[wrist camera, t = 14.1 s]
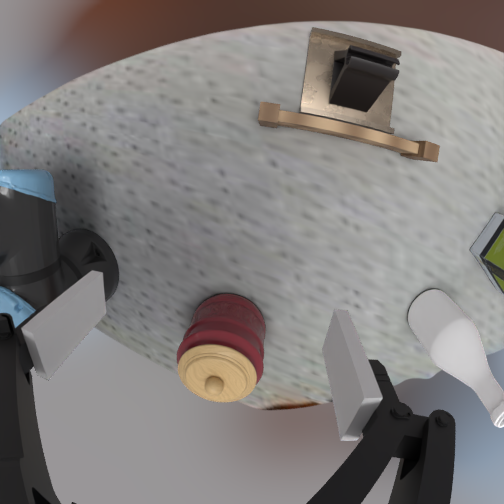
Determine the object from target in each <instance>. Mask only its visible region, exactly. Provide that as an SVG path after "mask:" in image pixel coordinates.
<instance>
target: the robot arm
mask: <svg viewBox="0 0 504 504" xmlns="http://www.w3.org/2000/svg"><path fill="white" fill-rule="evenodd" d="M118 280H119V272H118V266H117V262H116V259H115V257H114V254H113V252H112V251H111V249H110V247H109V246H108V245H107V243H106V242H105V241H104V240H103V239H102V238H101V237H99V236H98V235H97V234H95V233H93V232H91V231H89V230H85V229H76V230H72V231H70V232H68V233H66V234H64V235H63V236H62V237H60V238H59V239H58V232H57V219H56V199H55V195H54V182H53V177H52V175H51V174H50V173H49V172H48V171H46V170H39V169H17V170H0V504H61V503H60V501H59V500H58V498H57V496H56V495H55V492H54V490H53V487H52V484H51V480H50V477H49V473H48V470H47V466H46V462H45V457H44V453H43V449H42V444H41V439H40V434H39V429H38V423H37V417H36V410H35V402H34V395H33V385H32V375H31V372H30V370H31V369H32V367H33V366H34V368H35V371H36V373H37V375H38V376H40V377H42V378H44V379H46V380H49V379H50V378H51V377H52V376H53V375H54V373H55V372H56V371H57V370H58V368H59V367H60V366H61V365H62V364H63V362H64V361H65V360H66V359H67V358H68V357H69V355H70V354H71V353H72V352H73V351H74V349H75V348H76V347H77V346H78V345H79V344H80V342H81V341H82V340H83V339H84V338H85V336H87V335H88V333H89V332H90V331H91V330H92V329H93V328H94V327H95V325H96V324H97V323H98V322H99V321H100V320H101V319H102V318H103V317H104V315H105V314H106V313H107V312H106V304H105V302H106V301H107V300H108V299H109V298H110V297H111V296H112V295H113V294H114V292H115V290H116V288H117V285H118ZM322 351H323V355H324V360H325V365H326V369H327V374H328V379H329V384H330V389H331V394H332V399H333V403H334V408H335V414H336V419H337V424H338V430H339V435H340V440H341V441H346V440H358V438H359V437H360V435H361V433H363V439H362V440H361V441H360V443H359V444H358V445H357V447H356V448H355V449H354V451H353V452H352V453H351V454H350V455H349V457H348V458H347V459H346V461H345V462H344V463H343V464H342V465H341V466H340V468H339V469H338V470H337V471H336V472H335V473H334V475H333V476H332V477H331V478H330V479H329V480H328V481H327V482H326V484H325V485H324V486H323V487H322V488H321V489H320V490H319V491H318V492H317V493H316V494H315V495H314V496H313V497H312V498H311V499H310V501H308V502H307V504H361V502H362V501H363V500H364V498H365V497H366V495H367V494H368V493H369V492H370V490H371V489H372V487H373V486H374V484H375V483H376V481H377V480H378V478H379V477H380V475H381V474H382V472H383V471H384V469H385V468H386V466H387V464H388V463H389V461H390V459H391V457H397V458H400V463H399V467H398V471H397V475H396V479H395V482H394V486H393V489H392V493H391V496H390V500H389V503H388V504H450V499H451V492H452V483H453V472H454V458H455V420H454V418H453V416H452V415H451V414H449V413H448V412H446V411H444V410H435V411H433V412H432V413H431V414H430V416H429V417H425V416H419V415H415V414H413V412H412V410H411V409H410V408H409V406H407V405H406V404H404V403H401V402H399V399H398V397H397V395H396V392H395V390H394V388H393V385H392V383H391V382H390V378H389V376H388V374H387V371H386V369H385V367H384V366H383V365H382V364H381V363H380V362H379V361H378V360H368V358H367V356H366V353H365V351H364V348H363V346H362V343H361V341H360V338H359V336H358V334H357V331H356V329H355V326H354V324H353V322H352V319H351V317H350V315H349V312H348V310H339V309H334V312H333V316H332V319H331V323H330V326H329V329H328V333H327V336H326V339H325V342H324V345H323V348H322ZM72 504H76V503H73V502H72Z"/></svg>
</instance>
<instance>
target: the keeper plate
mask: <svg viewBox="0 0 504 504" xmlns="http://www.w3.org/2000/svg"><path fill="white" fill-rule="evenodd" d="M350 45H352V46H356V47H360V48H363V49H367V50H370V51H374V52H377V53H380V54H383V55H386V56H389V57H392V58H395V59H397V58H399V57H400V56H401V51H398V50H395V49H393V48H390V47H387V46H384V45H381V44H377V43H374V42H371V41H368V40H364V39H361V38H357V37H353V36H349V35H346V34H342V33H337V32H333V31H329V30H324V29H319V28H314V27H312V30H311V33H310V40H309V47H308V55H307V63H306V70H305V77H304V85H303V92H302V99H301V106H300V114H305V115H311V116H316V117H321V118H326V119H330V120H335V121H339V122H344V123H348V124H352V125H356V126H360V127H364V128H368V129H372V130H375V131H379V132H383V133H386V134H394V128H390V127H389V126H390V118H391V110H392V101H393V91H394V81H391V82H390V83H389V84H388V85H387V87H386V88H385V89H384V91H383V92H382V93H381V95H380V96H379V97H378V99H377V100H376V101H375V103H374V104H373V105H372V106H371V108H370V109H369V110H368V112H364V111H360V110H356V109H352V108H347V107H343V106H339V105H334V104H330V103H329V96H330V88H331V80H332V71H333V62H334V53H335V51H341V50H347V49H348V48H349V46H350ZM395 66H396V64H393V66H392V68H393V69H395Z"/></svg>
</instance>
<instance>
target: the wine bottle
mask: <svg viewBox="0 0 504 504" xmlns="http://www.w3.org/2000/svg"><path fill="white" fill-rule="evenodd" d="M408 322H409V326H410V328H411V329H412V331H413V332H414V334H415V335H416V337H417V338H418V340H419V341H420V343H421V344H422V346H423V347H424V349H425V351H426V352H427V354H428V355H429V357H430V358H431V360H432V362H433V363H434V364H435V365H437V366H438V367H439V368H441V369H442V370H444V371H445V372H447V373H449V374H451V375H452V376H454V377H455V378H457V379H459V380H460V381H462V382H463V383H465V384H466V385H468V386H470V387H471V388H472V389H473V390H474V391H475V392H476V394H477V395H478V397H479V398H480V400H481V401H482V403H483V404H484V406H485V407H486V409H487V410H488V412H489V413H490V415H491V416H490V417H491V420H492V422H493V423H494V425H495V426H497V427H499V428H500V427H503V426H504V391H503V390H502V388H501V387H500V385H499V384H498V383H497V381H496V380H495V378H494V377H493V375H492V373H491V371H490V369H489V366H488V362H487V358H486V355H485V351H484V348H483V345H482V341H481V338H480V335H479V332H478V329H477V327H476V325H475V323H474V322H473V321H472V320H471V319H470V317H469V316H468V315H467V314H466V313H465V312H464V311H463V310H462V309H461V308H460V307H459V306H458V305H457V304H456V303H455V302H454V301H453V300H452V299H451V298H450V297H449V296H448V295H447V294H446V293H444V292H443V291H440V290H437V289H432V290H428V291H426V292H424V293H422V294H421V295H419V296H418V297H417V298H416V299H415V300H414V302H413V303H412V305H411V307H410V309H409V313H408Z"/></svg>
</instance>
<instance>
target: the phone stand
mask: <svg viewBox="0 0 504 504" xmlns="http://www.w3.org/2000/svg"><path fill="white" fill-rule="evenodd" d="M393 64H397V65H399V64H400V63H399V60H398V59H395V58H392V57H389V56H386V55H383V54H380V53H377V52H374V51H370V50H367V49H363V48H360V47H356V46H352V45H350V46H349V48H348V49H347V50H341V51H335V53H334V62H333V71H332V80H331V88H330V96H329V103H330V104H334V105H339V106H343V107H347V108H352V109H356V110H360V111H364V112H368V110H369V109H370V108H371V106H372V105H373V104H374V103H375V101H376V100H377V99H378V97H379V96H380V95H381V93H382V92H383V91H384V89H385V88H386V87H387V85H388V84H389V83H390V82H391V81H394V80H396V78H397V76H398V74H399V70H396V69H393V68H392V66H393Z"/></svg>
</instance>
